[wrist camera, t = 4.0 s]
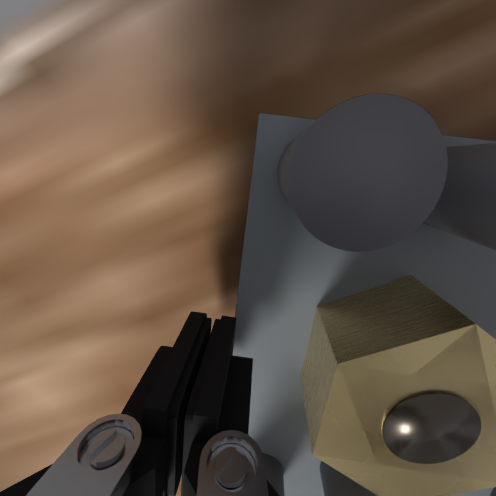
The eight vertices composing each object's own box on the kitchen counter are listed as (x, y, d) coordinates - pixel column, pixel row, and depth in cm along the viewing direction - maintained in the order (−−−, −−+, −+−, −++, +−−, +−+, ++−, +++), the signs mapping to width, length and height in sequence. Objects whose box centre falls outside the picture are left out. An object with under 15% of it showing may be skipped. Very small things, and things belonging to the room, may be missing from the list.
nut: (497, 286, 9) (606, 343, 6) (431, 430, 11) (489, 524, 8) (326, 263, 9) (354, 309, 6) (293, 410, 11) (302, 495, 9)
